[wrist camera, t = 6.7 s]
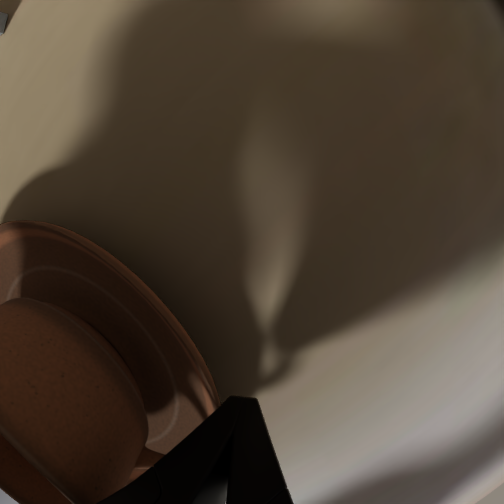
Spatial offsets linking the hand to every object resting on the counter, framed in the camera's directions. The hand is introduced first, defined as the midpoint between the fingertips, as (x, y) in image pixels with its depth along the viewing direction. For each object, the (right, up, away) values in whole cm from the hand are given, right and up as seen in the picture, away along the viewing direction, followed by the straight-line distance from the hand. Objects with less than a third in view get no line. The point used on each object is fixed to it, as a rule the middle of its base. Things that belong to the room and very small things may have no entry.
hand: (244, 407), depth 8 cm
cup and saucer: (-6, 0, +3) cm, 7 cm away
